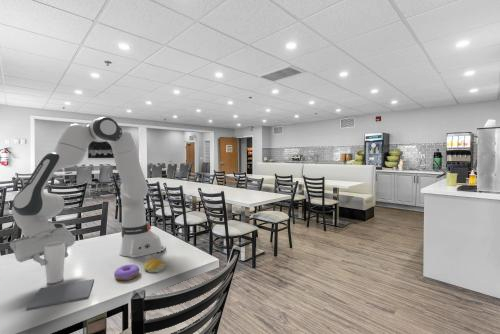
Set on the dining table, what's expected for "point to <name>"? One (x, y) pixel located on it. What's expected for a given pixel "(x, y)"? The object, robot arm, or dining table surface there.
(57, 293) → the rubber mat
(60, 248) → the drinking glass
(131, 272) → the donut
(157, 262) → the bread roll
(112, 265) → the dining table surface
